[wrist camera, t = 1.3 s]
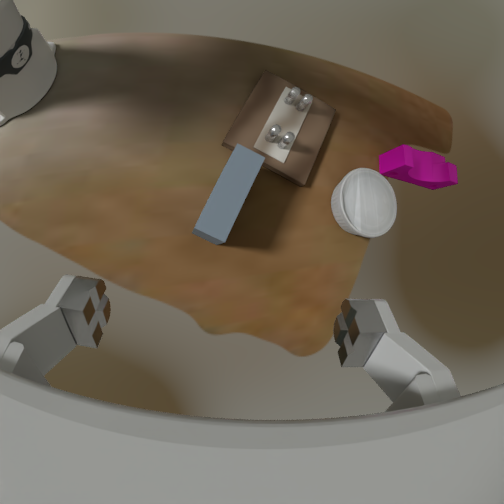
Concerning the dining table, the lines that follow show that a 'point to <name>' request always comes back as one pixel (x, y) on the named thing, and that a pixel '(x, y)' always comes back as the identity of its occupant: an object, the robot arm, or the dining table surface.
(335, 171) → the dining table surface
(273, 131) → the peg stand
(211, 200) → the slate block
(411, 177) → the toy block
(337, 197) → the ramekin
